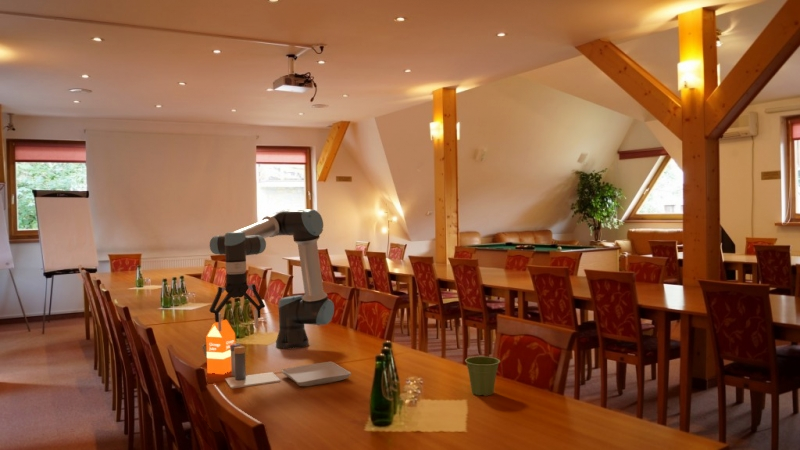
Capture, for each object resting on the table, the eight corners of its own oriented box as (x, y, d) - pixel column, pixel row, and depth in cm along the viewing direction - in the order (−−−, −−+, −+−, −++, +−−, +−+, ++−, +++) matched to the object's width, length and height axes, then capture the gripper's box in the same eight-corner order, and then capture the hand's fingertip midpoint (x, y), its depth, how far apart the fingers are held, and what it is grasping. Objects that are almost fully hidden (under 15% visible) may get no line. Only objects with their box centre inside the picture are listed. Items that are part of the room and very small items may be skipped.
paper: (272, 373, 245) (272, 372, 245) (280, 381, 233) (280, 380, 233) (225, 379, 237) (225, 378, 237) (230, 388, 225) (230, 387, 225)
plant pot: (492, 400, 205) (491, 366, 204) (459, 395, 211) (458, 362, 210) (506, 391, 215) (505, 358, 214) (474, 386, 221) (474, 354, 221)
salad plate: (298, 391, 222) (297, 381, 222) (280, 377, 240) (280, 368, 240) (353, 382, 231) (352, 372, 231) (331, 369, 250) (331, 360, 250)
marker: (244, 377, 238) (243, 345, 238) (247, 379, 235) (246, 347, 234) (234, 378, 236) (233, 347, 236) (236, 381, 233) (235, 349, 233)
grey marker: (240, 373, 246) (239, 343, 246) (242, 375, 242) (241, 345, 242) (230, 374, 244) (229, 344, 244) (232, 377, 241) (231, 346, 240)
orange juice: (236, 368, 254) (235, 319, 253) (223, 374, 245) (222, 323, 245) (220, 367, 256) (218, 319, 256) (206, 373, 248) (205, 323, 247)
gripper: (203, 276, 227) (205, 334, 228) (271, 271, 238) (273, 326, 238) (200, 274, 234) (202, 330, 235) (267, 269, 244) (269, 323, 245)
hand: (238, 328), depth 237 cm, fingers open, 13 cm apart
